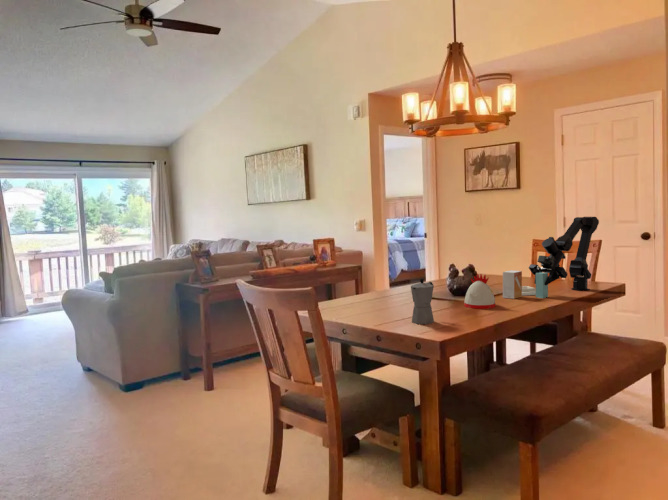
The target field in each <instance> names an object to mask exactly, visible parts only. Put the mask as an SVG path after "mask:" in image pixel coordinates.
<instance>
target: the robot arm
mask: <svg viewBox="0 0 668 500" xmlns="http://www.w3.org/2000/svg"><path fill="white" fill-rule="evenodd" d="M599 223H600V221H599V219H598V218H597V217H596V216H583V217H582V216H581V217H579V216H577V217H574V219H573V220H572V222H571V224H570V226H569V227H568V228H567V229H566V231H565V232H564V234H563V235H561V236H559V237H557V239H555V238H554V236H548V238H546V239H544V240H542V242H541V246H542V247H543V249H544V250H545V252H546V253H547V254H548V256H547V255H539V256H538V257H537V263H539V264H540V266H541V267H540V266H539V264H530V265H529V266H528V269H529V270H530V272H531V274H532V275H533V276H534V284H535V285H536V273H540V272H542V273H548V278H547V280H546V281H545V285H548V286H549V284H551V283H552V282H555V281H556V280H560V279H567V277H568V272H569V275H570V278H573V280H572V283H573V284H572V288H570V289H571V290H575V291H579V292H581V291H590V290H591V288H589V287H588V280H589V279H591V278H592V273H591V272H590V270H589V269H588V268H589V265H588V262H587V256H588V252H589V249H590V244H591V240H592V235H593V234H594V233H595V232H596V231H597V229H598V226H599ZM580 231H581V234H580V240H579V244H578V247H577V251H576V256H575V258H574V259H571V260H570V262H569V266H568V267H569V268H568V272H567V270H566V269H565V267H563V266H561V265H560V263H561V261H562V259H563V260H566V255H565V253H564V252H569V251H571V249H572V246H573V240H575V238H576V236H577V235H578V233H579V232H580Z"/></svg>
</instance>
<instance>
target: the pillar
mask: <svg viewBox="0 0 668 500" xmlns="http://www.w3.org/2000/svg"><path fill="white" fill-rule="evenodd" d="M548 276H549V273H544V272H540V273H536V284H535V290H536V295H535V298H540V299H545V298H546V297H547V298H548V297H549V284H548V285H545V281H546V280H547V278H548Z"/></svg>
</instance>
